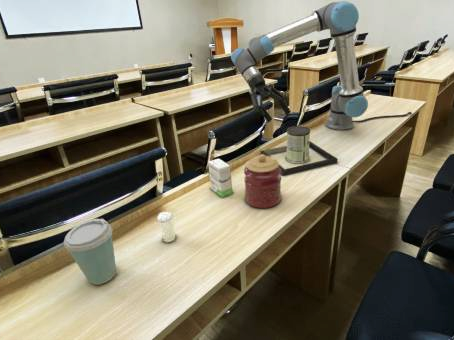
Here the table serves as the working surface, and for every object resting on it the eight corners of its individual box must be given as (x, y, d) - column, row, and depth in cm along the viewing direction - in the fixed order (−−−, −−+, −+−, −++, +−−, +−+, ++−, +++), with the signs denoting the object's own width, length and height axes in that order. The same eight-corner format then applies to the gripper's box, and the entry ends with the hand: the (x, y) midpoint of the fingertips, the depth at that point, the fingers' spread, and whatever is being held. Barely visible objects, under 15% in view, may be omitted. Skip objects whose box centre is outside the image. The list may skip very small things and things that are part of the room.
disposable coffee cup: (83, 298, 74) (63, 251, 67) (76, 271, 82) (58, 226, 75) (129, 278, 80) (114, 232, 73) (118, 254, 87) (105, 211, 81)
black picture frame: (309, 144, 155) (309, 141, 154) (337, 162, 136) (337, 158, 136) (260, 154, 146) (260, 150, 145) (282, 175, 127) (282, 171, 126)
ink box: (233, 193, 116) (231, 165, 110) (221, 197, 113) (219, 169, 107) (221, 184, 122) (218, 157, 116) (210, 188, 119) (207, 161, 114)
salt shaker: (156, 240, 93) (150, 212, 88) (172, 232, 96) (167, 205, 91) (163, 247, 90) (157, 219, 85) (180, 238, 93) (175, 211, 88)
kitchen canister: (237, 199, 112) (234, 155, 104) (263, 186, 120) (262, 144, 112) (263, 213, 104) (262, 167, 95) (288, 198, 112) (289, 154, 103)
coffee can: (286, 153, 146) (287, 125, 140) (308, 154, 145) (310, 125, 139) (285, 163, 137) (286, 133, 131) (309, 163, 136) (310, 134, 130)
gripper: (267, 80, 152) (291, 115, 150) (231, 89, 135) (257, 128, 133) (276, 70, 146) (300, 106, 144) (238, 78, 130) (266, 119, 128)
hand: (279, 117), depth 139 cm, fingers open, 13 cm apart
